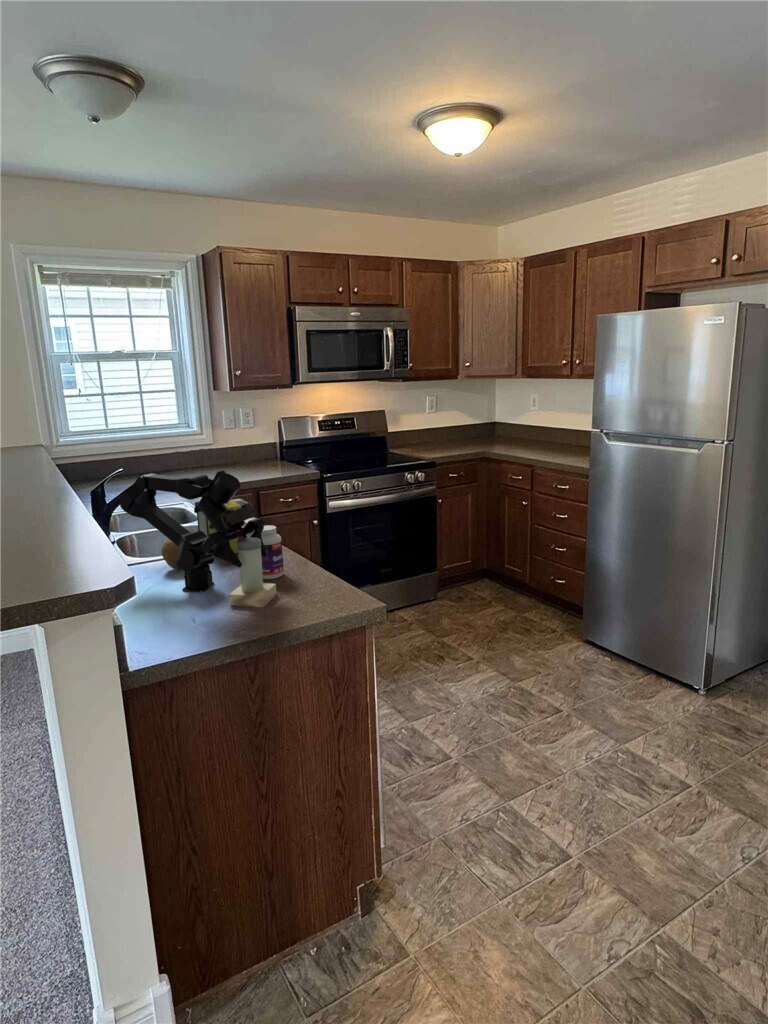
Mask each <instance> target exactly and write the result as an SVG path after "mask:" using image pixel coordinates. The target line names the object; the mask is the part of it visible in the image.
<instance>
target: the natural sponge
mask: <svg viewBox="0 0 768 1024" xmlns="http://www.w3.org/2000/svg"><path fill="white" fill-rule="evenodd" d="M160 554H161V556H162V558H163V560H164V561H165V562H166V564H167V566H169V567H170V568H172V569H173V570H177V571H180V570H179V568H178V566H177V561H178V560H179V559H180V557H181V555H180V551H179V547H178V546H177V545H176V544H175V543H173V542H172V541H171V540H170V539H169V538H168V539H167V540H166V541H165V542H164V543H163V544H162V547H161V553H160Z"/></svg>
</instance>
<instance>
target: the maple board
mask: <svg viewBox="0 0 768 1024" xmlns="http://www.w3.org/2000/svg"><path fill="white" fill-rule="evenodd" d="M263 585H264V589H263V590H261V591H259V592H255V593H245V592H243V591H242V588H241V584H240V585H239V586H237V587H236V588H235V589H233V591H232V592H230V593H229V594H228V596H229V597H228V599H229V600H228V601H229V606H232V605H236V607H247V606H252V607H251V608H264V607H265V606H266V605H267V604H268V603H269V602H271V600H273V598H274V597H276V596H277V595H276V594H277V583H269V582H268V583H267V582H263ZM253 606H254V607H253Z"/></svg>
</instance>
